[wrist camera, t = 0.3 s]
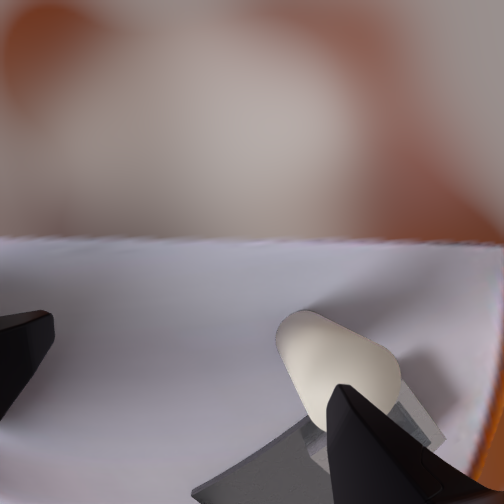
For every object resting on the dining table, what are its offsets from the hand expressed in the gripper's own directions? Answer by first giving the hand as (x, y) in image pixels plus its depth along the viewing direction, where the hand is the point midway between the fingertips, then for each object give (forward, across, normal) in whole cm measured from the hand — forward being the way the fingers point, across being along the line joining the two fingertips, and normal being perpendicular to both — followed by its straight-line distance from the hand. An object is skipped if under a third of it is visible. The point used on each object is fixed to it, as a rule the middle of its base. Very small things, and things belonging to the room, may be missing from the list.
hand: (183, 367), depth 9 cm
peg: (+14, -7, +6) cm, 17 cm away
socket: (+10, -11, +17) cm, 23 cm away
